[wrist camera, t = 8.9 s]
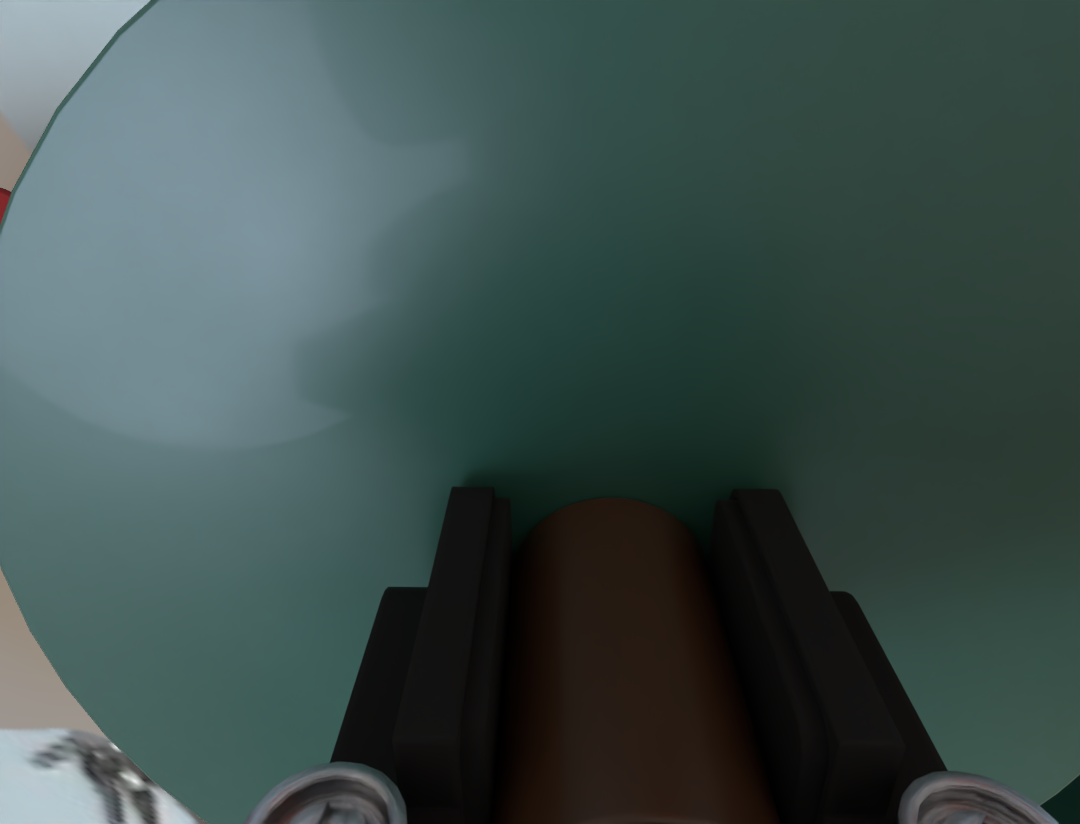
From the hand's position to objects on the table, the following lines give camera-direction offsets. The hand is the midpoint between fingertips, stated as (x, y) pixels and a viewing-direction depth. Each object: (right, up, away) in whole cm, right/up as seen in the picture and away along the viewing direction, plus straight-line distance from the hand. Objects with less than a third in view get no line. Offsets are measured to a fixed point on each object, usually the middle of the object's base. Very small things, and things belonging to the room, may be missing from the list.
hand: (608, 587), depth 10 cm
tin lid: (0, 0, +1) cm, 1 cm away
